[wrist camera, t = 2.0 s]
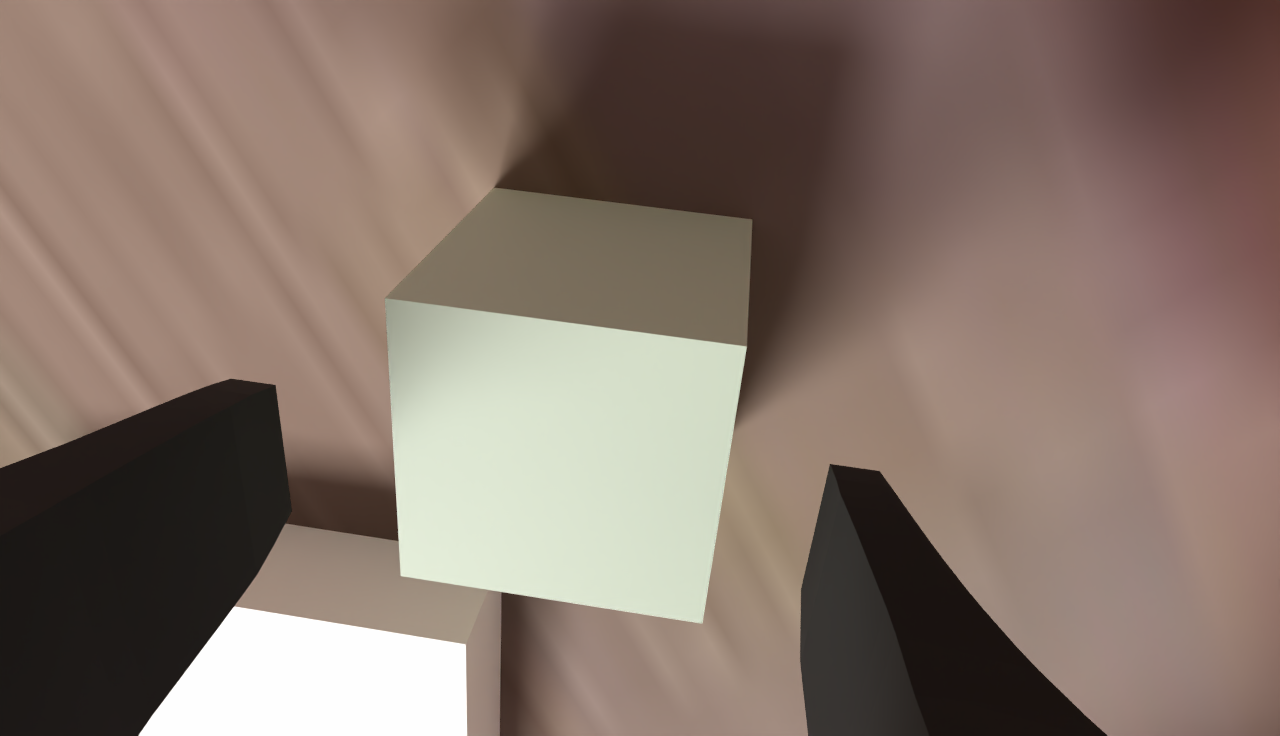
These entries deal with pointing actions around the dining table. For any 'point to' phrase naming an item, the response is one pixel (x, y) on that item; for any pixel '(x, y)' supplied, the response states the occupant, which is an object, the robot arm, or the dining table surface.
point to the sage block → (569, 400)
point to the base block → (343, 650)
